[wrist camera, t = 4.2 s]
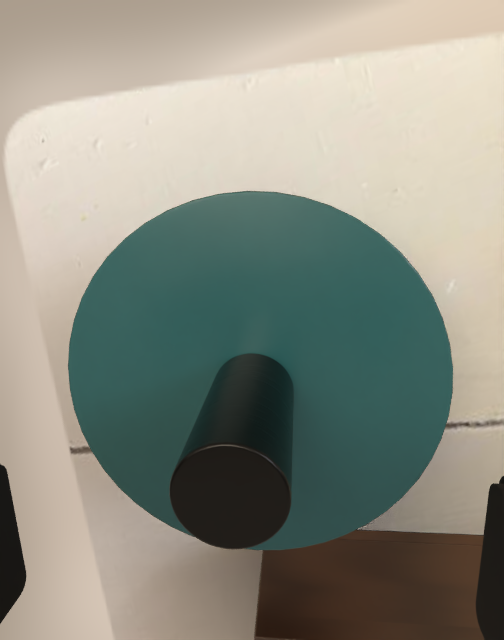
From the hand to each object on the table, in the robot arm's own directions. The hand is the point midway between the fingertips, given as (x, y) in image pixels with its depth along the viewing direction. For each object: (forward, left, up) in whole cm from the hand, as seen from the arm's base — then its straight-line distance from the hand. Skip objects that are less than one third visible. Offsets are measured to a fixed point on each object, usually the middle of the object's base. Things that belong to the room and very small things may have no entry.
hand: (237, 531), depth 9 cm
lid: (0, 0, -7) cm, 7 cm away
